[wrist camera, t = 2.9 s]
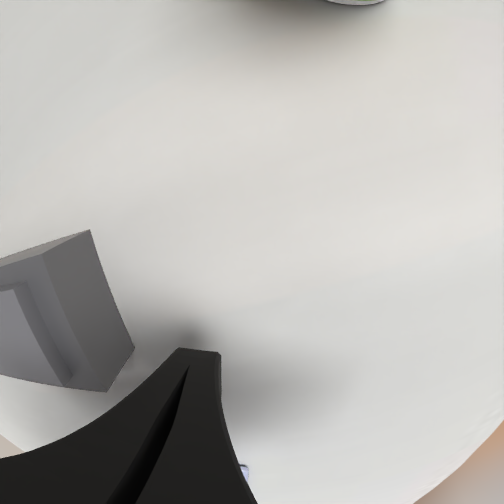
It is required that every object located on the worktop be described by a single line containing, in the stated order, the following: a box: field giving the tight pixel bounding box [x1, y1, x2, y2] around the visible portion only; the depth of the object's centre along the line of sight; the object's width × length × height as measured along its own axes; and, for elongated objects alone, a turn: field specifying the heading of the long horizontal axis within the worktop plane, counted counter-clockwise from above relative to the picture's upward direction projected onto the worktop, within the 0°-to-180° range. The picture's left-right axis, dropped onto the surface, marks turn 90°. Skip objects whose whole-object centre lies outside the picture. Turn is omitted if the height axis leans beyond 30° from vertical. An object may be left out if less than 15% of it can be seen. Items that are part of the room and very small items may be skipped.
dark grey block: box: [0, 230, 135, 392], centre depth 10 cm, size 6×8×4 cm
